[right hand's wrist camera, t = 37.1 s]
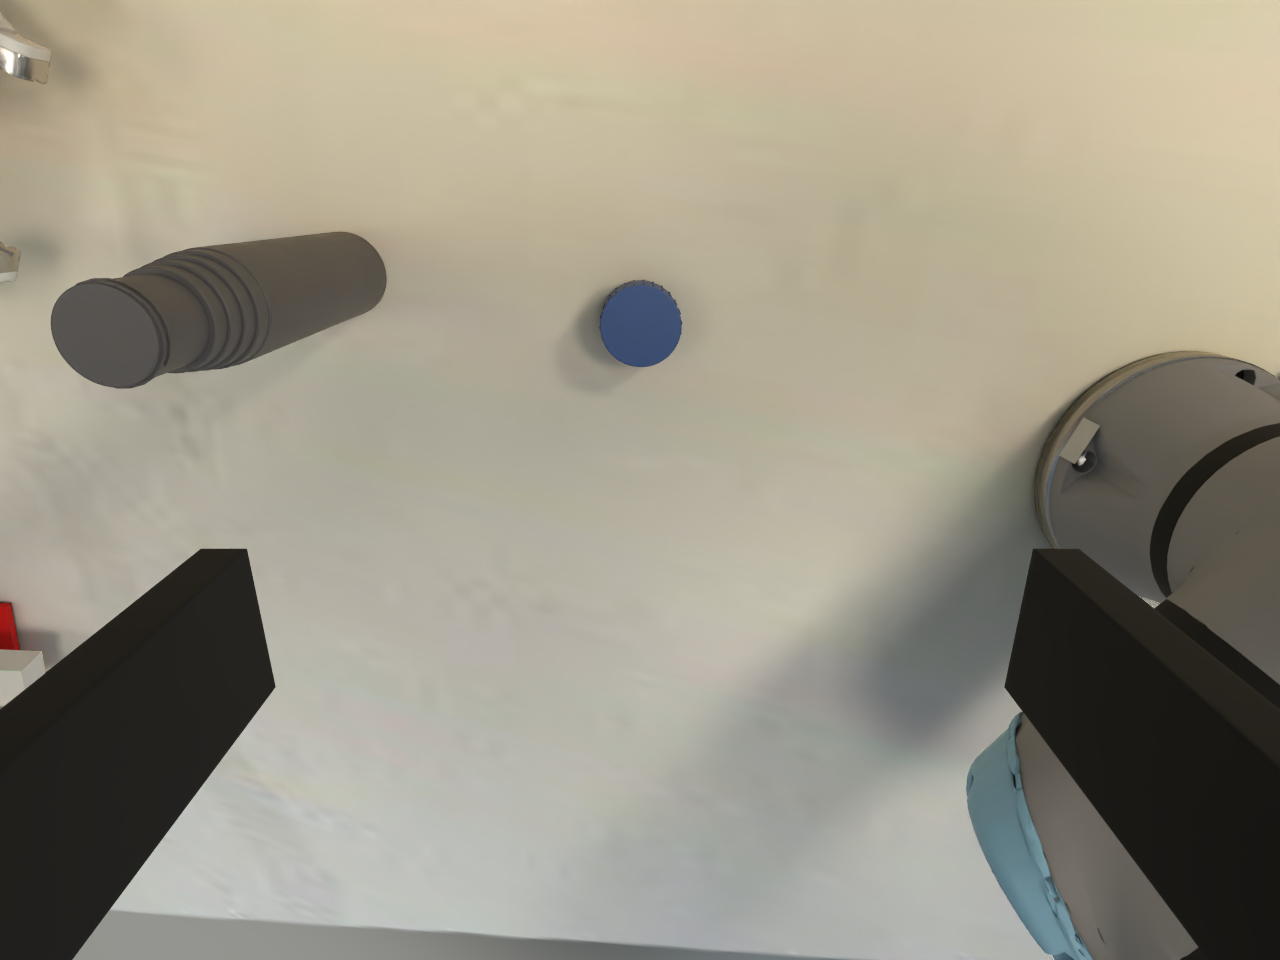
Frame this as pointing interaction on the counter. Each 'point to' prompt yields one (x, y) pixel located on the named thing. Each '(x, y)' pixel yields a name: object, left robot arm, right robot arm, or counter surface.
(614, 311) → the cap
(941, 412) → the counter surface
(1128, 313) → the counter surface
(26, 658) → the toy
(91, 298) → the bottle
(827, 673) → the counter surface
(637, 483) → the counter surface
